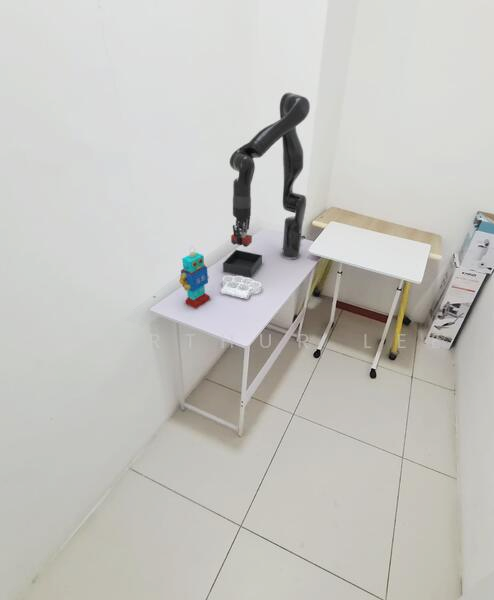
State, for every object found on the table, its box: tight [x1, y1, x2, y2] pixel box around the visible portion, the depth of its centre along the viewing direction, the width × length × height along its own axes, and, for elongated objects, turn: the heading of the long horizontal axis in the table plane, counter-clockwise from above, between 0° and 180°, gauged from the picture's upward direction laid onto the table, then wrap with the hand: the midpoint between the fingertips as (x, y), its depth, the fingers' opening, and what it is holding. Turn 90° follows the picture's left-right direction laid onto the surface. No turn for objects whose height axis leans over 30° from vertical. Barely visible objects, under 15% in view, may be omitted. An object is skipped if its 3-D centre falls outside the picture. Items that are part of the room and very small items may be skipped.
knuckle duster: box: [220, 274, 262, 300], centre depth 148 cm, size 3×18×15 cm
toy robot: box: [179, 246, 211, 309], centre depth 132 cm, size 12×6×25 cm, turn 148°
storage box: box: [222, 249, 263, 279], centre depth 163 cm, size 15×14×5 cm
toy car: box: [230, 231, 253, 248], centre depth 147 cm, size 8×4×5 cm, turn 74°
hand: (241, 242), depth 148 cm, fingers closed on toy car, 4 cm apart
